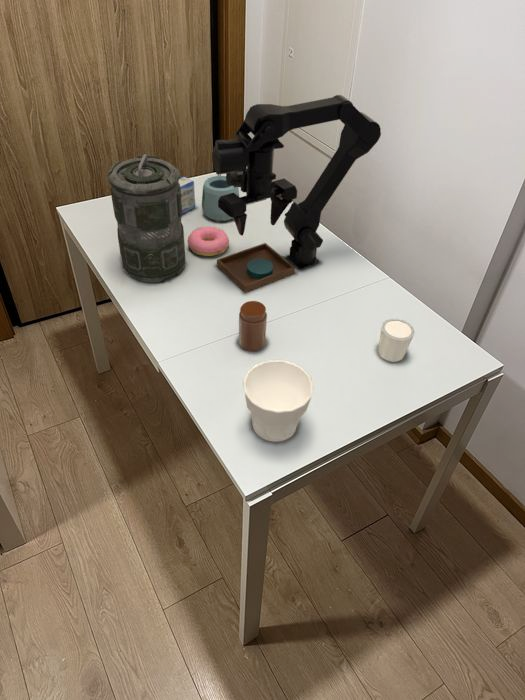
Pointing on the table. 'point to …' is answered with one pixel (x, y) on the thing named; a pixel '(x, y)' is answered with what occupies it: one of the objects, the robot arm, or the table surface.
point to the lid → (259, 268)
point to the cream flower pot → (277, 398)
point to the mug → (216, 197)
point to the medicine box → (187, 194)
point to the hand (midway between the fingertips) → (257, 229)
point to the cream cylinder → (395, 339)
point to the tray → (238, 261)
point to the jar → (252, 326)
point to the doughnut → (208, 241)
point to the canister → (148, 217)
